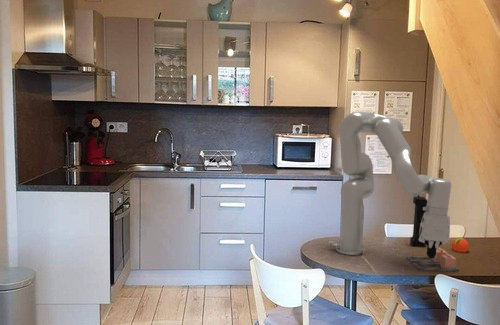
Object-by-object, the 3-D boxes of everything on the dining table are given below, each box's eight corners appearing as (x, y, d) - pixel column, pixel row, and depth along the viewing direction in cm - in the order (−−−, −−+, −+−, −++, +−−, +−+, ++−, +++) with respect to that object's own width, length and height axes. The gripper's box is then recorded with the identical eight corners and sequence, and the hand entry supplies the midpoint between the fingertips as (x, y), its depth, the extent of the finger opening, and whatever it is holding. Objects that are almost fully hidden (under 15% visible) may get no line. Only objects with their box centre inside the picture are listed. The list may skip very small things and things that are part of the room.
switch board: (408, 274, 169) (409, 268, 169) (394, 259, 186) (394, 254, 186) (472, 276, 169) (473, 270, 169) (452, 261, 186) (452, 256, 186)
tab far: (436, 263, 179) (437, 250, 179) (432, 259, 183) (433, 247, 183) (446, 263, 179) (447, 250, 179) (442, 260, 183) (443, 247, 183)
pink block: (444, 269, 172) (445, 256, 171) (440, 266, 176) (441, 253, 175) (455, 270, 172) (456, 256, 171) (450, 266, 176) (451, 253, 175)
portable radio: (426, 250, 201) (431, 194, 198) (412, 248, 202) (416, 193, 200) (423, 245, 209) (427, 191, 206) (409, 244, 210) (413, 191, 207)
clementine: (461, 257, 192) (463, 241, 192) (446, 253, 198) (447, 237, 197) (471, 254, 197) (472, 238, 196) (456, 250, 203) (457, 234, 202)
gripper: (420, 212, 168) (414, 259, 170) (460, 214, 168) (454, 262, 170) (413, 207, 175) (408, 252, 178) (452, 209, 175) (445, 255, 178)
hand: (430, 257), depth 174 cm, fingers closed
